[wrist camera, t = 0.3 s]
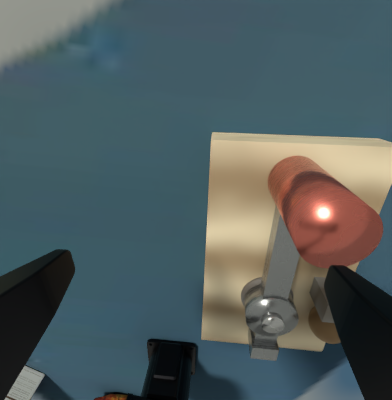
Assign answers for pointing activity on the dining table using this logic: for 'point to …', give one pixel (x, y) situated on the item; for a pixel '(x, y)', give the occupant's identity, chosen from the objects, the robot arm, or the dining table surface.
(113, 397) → the croissant
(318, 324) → the walnut
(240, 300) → the block
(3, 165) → the dining table surface
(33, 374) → the supplement box
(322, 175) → the lever
